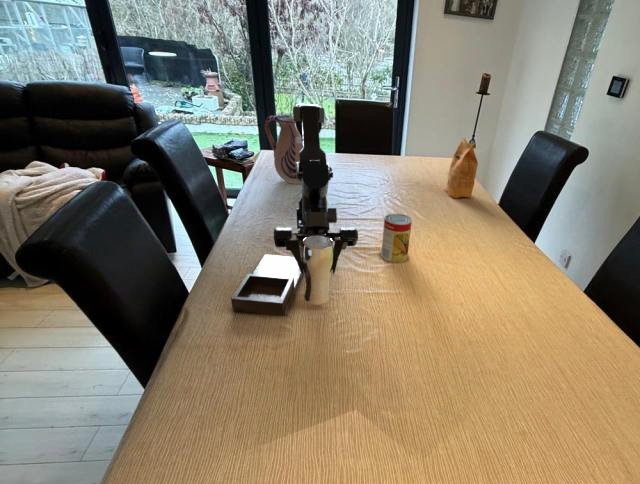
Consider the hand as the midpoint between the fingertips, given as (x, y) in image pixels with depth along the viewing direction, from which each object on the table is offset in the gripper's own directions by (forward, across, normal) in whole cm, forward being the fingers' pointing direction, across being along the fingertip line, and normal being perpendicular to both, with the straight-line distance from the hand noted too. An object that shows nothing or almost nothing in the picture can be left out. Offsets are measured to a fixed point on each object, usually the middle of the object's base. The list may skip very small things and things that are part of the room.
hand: (318, 273), depth 94 cm
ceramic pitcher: (-60, -5, +75) cm, 97 cm away
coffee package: (-51, +65, +66) cm, 105 cm away
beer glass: (+4, 0, +6) cm, 8 cm away
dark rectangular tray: (-1, -11, +14) cm, 18 cm away
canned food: (-11, +24, +25) cm, 37 cm away
